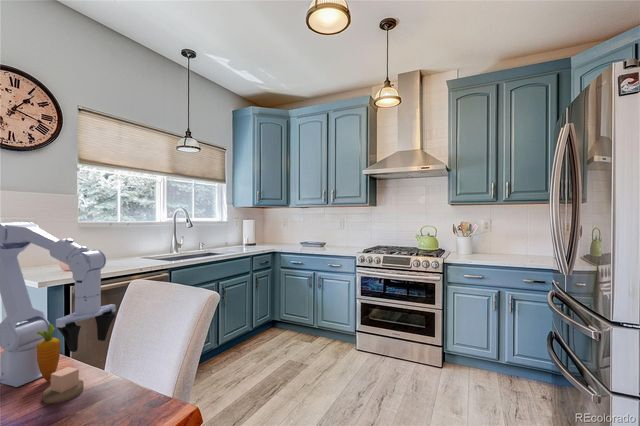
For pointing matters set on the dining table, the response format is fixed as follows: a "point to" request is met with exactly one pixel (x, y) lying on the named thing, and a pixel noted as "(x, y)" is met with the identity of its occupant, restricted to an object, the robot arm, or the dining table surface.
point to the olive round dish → (62, 394)
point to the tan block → (64, 379)
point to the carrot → (48, 353)
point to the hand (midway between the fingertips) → (88, 345)
